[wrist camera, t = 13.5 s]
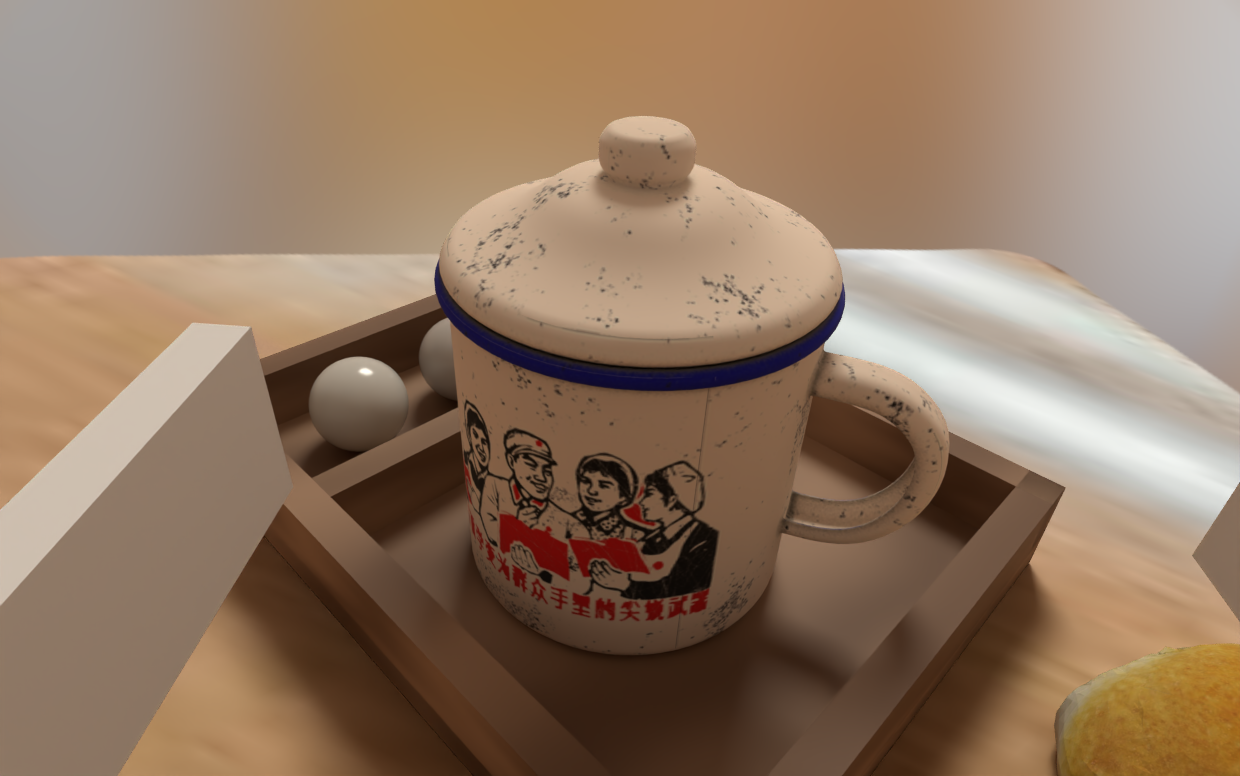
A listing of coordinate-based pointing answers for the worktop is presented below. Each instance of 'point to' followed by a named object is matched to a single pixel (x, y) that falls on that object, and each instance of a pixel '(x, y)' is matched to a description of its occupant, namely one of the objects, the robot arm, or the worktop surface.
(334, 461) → the parts tray
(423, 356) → the pebble
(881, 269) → the worktop surface
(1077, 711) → the bread roll
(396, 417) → the pebble
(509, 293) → the teacup with lid
